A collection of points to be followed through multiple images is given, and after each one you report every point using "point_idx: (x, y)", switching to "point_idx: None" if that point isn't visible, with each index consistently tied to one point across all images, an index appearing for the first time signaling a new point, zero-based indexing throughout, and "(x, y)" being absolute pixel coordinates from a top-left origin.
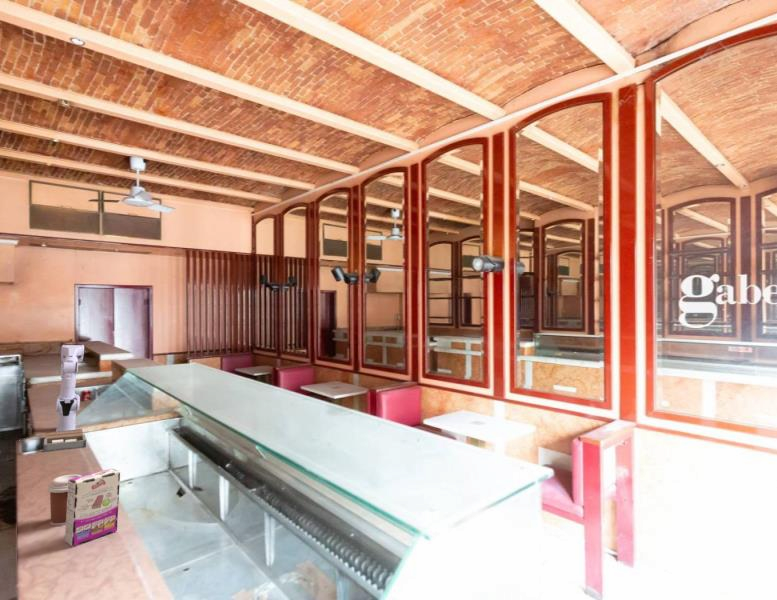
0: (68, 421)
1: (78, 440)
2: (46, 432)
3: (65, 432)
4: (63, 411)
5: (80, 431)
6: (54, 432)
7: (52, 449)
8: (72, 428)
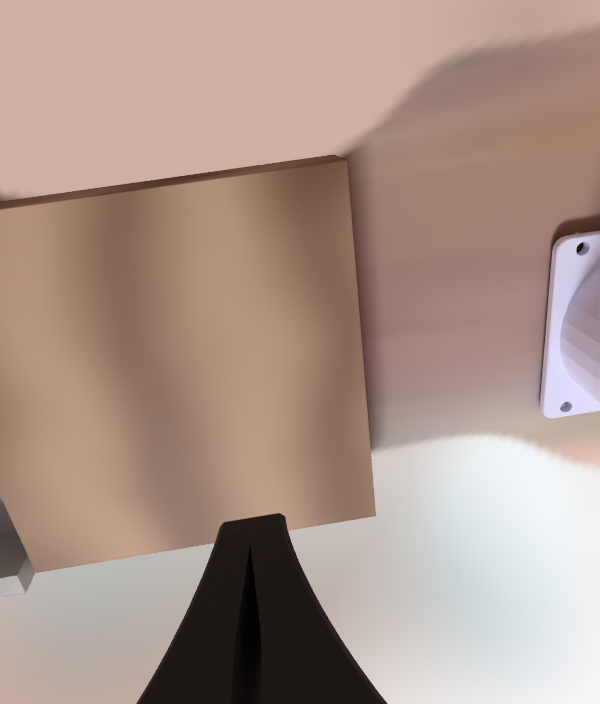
0: None
1: None
2: (340, 165)
3: (252, 392)
4: (197, 618)
5: None
6: (298, 270)
7: None
8: (588, 393)
